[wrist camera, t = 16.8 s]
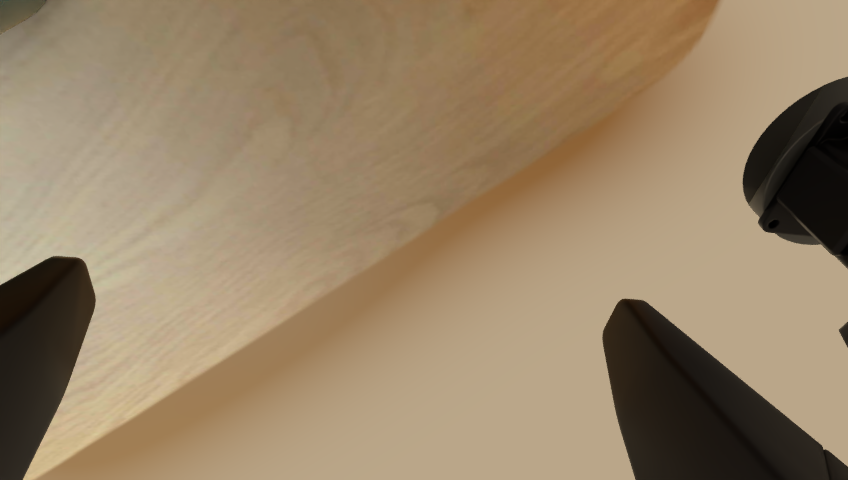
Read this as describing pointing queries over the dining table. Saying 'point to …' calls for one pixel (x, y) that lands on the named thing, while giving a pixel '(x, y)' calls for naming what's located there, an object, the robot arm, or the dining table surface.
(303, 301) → the dining table surface
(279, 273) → the dining table surface
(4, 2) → the can
